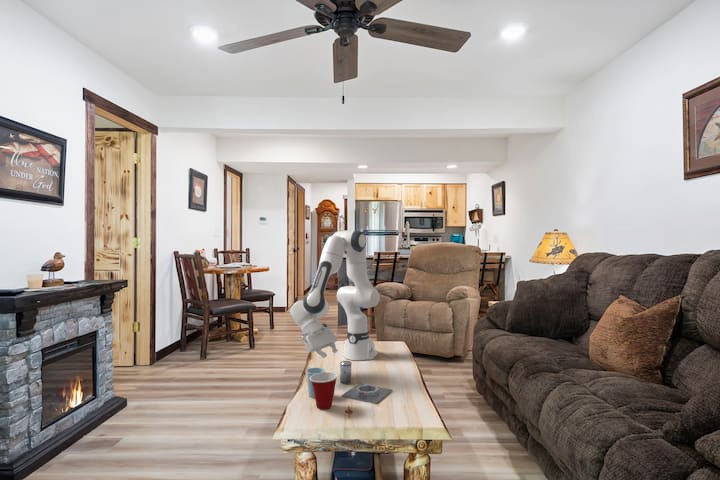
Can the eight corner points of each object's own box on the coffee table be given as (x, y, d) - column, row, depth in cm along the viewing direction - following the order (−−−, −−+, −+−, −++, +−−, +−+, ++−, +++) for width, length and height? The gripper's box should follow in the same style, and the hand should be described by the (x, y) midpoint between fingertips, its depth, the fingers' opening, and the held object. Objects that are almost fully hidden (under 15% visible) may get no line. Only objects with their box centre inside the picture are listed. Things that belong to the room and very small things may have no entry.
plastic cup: (310, 401, 160) (310, 371, 160) (337, 400, 161) (337, 370, 161) (308, 413, 149) (308, 380, 149) (337, 412, 150) (338, 380, 150)
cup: (326, 398, 164) (326, 372, 164) (307, 400, 162) (307, 374, 162) (323, 391, 171) (323, 367, 171) (305, 393, 169) (305, 368, 169)
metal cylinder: (343, 379, 186) (343, 360, 186) (353, 381, 184) (353, 361, 184) (337, 383, 182) (337, 363, 182) (347, 384, 179) (348, 364, 179)
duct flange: (359, 384, 179) (359, 379, 180) (392, 390, 172) (392, 385, 172) (341, 396, 165) (341, 391, 165) (376, 404, 158) (376, 398, 158)
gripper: (304, 330, 181) (322, 355, 176) (328, 323, 199) (345, 345, 194) (296, 339, 183) (313, 364, 178) (321, 331, 201) (337, 353, 196)
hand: (330, 354), depth 186 cm, fingers open, 8 cm apart
